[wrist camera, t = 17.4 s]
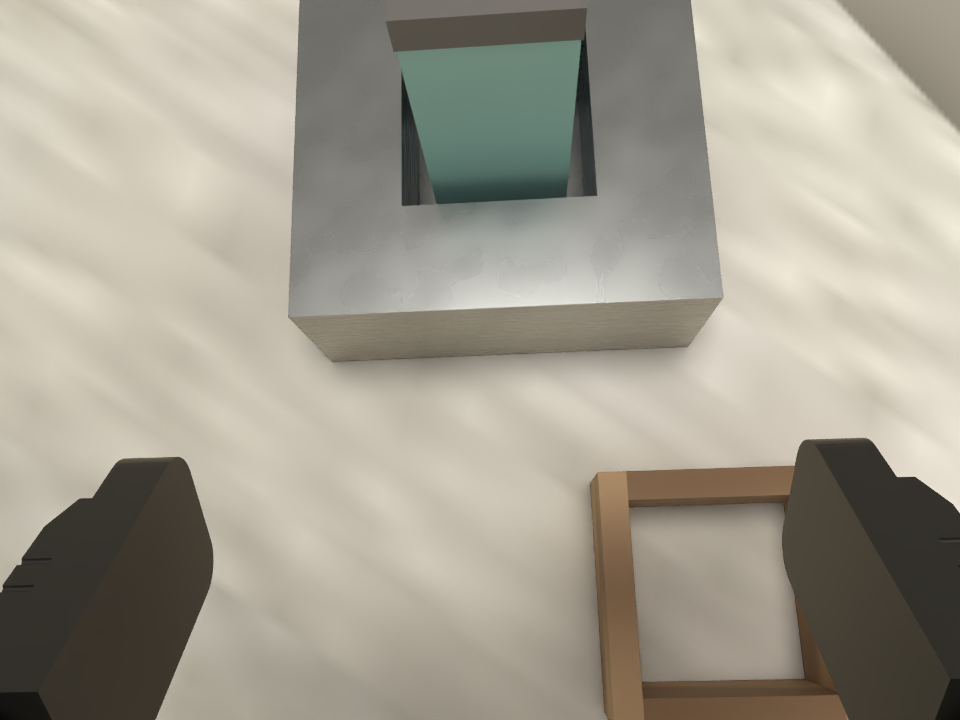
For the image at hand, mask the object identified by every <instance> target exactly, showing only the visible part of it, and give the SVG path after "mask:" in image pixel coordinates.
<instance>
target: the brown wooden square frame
mask: <svg viewBox="0 0 960 720" xmlns="http://www.w3.org/2000/svg"><path fill="white" fill-rule="evenodd" d="M794 468H795V466H773V467H744V468H714V469H685V470H655V471H625V472H598V473H597V474H596V476H595V477H594V479H593V480H592V481H591V483H590V486H591V502H592V518H593V535H594V551H595V567H596V583H597V600H598V616H599V632H600V648H601V665H602V681H603V697H604V712H605V714H606V716H607V718H608V720H849V719H848V717H847V715H846V712H845V710H844V708H843V705H842V703H841V700H840V698H839V696H838V693H837V691H836V689H835V686H834V684H833V682H832V679H831V677H830V675H829V672H828V670H827V668H826V665H825V663H824V661H823V658H822V656H821V654H820V651H819V649H818V646H817V644H816V642H815V639H814V637H813V635H812V632H811V630H810V628H809V625H808V623H807V621H806V618H805V616H804V614H803V611H802V609H801V607H800V604H799V602H798V600H797V597H796V595H795V599H796V607H797V615H798V623H799V631H800V640H801V648H802V656H803V664H804V672H805V679H781V680H730V681H679V682H642V680H641V667H640V653H639V639H638V625H637V612H636V598H635V584H634V571H633V557H632V543H631V530H630V516H629V507H648V506H680V505H711V504H743V503H775V502H784V508H785V516H786V510H787V505H788V500H789V495H790V489H791V484H792V479H793V474H794Z"/></svg>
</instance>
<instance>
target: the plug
mask: <svg viewBox="0 0 960 720" xmlns="http://www.w3.org/2000/svg"><path fill="white" fill-rule="evenodd" d="M586 16H587V0H386V25H387V29H388V32H389V36H390V40H391V44H392V47H393V51H394V52H397V55H398V59H399V63H400V67H401V71H402V74H403V78H404V82H405V86H406V90H407V93H408V97H409V101H410V105H411V109H412V112H413V116H414V120H415V124H416V128H417V131H418V135H419V139H420V143H421V147H422V150H423V154H424V158H425V162H426V166H427V169H428V173H429V177H430V181H431V185H432V188H433V192H434V196H435V200H436V204H452V203H471V202H490V201H509V200H528V199H547V198H566V197H567V186H568V176H569V165H570V154H571V144H572V133H573V123H574V112H575V102H576V91H577V81H578V70H579V60H580V49H581V40H584V36H585V26H586Z"/></svg>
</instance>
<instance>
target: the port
mask: <svg viewBox="0 0 960 720" xmlns="http://www.w3.org/2000/svg"><path fill="white" fill-rule="evenodd" d="M722 299H723V290H722V281H721V271H720V262H719V253H718V244H717V235H716V226H715V217H714V208H713V199H712V190H711V180H710V171H709V162H708V153H707V144H706V135H705V126H704V117H703V108H702V99H701V89H700V80H699V71H698V62H697V53H696V44H695V35H694V26H693V17H692V8H691V0H587V16H586V26H585V36H584V40H581V49H580V60H579V70H578V81H577V91H576V102H575V112H574V123H573V133H572V144H571V154H570V165H569V176H568V186H567V197H566V198H547V199H528V200H509V201H490V202H471V203H452V204H436V200H435V196H434V192H433V188H432V185H431V181H430V177H429V173H428V169H427V166H426V162H425V158H424V154H423V150H422V147H421V143H420V139H419V135H418V131H417V128H416V124H415V120H414V116H413V112H412V109H411V105H410V101H409V97H408V93H407V90H406V86H405V82H404V78H403V74H402V71H401V67H400V63H399V59H398V55H397V52H394V51H393V47H392V44H391V40H390V36H389V32H388V29H387V25H386V0H300V5H299V33H298V61H297V89H296V117H295V145H294V173H293V201H292V229H291V257H290V284H289V312H288V317H289V318H290V319H291V320H292V321H293V322H294V323H295V324H296V325H297V326H298V328H299V329H300V330H301V331H302V332H303V333H304V334H305V335H306V336H307V337H308V338H309V339H310V340H311V341H312V342H313V343H314V344H315V345H316V346H317V347H318V348H319V349H320V350H321V351H322V352H323V353H324V354H325V355H326V356H327V357H328V358H329V359H330V360H331V361H355V360H379V359H403V358H426V357H450V356H474V355H498V354H521V353H545V352H569V351H593V350H616V349H640V348H664V347H688V346H689V345H690V343H691V342H692V340H693V339H694V338H695V336H696V335H697V333H698V332H699V331H700V329H701V328H702V327H703V325H704V324H705V322H706V321H707V320H708V318H709V317H710V315H711V314H712V313H713V311H714V310H715V308H716V307H717V306H718V304H719V303H720V301H721V300H722Z"/></svg>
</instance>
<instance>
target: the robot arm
mask: <svg viewBox="0 0 960 720" xmlns="http://www.w3.org/2000/svg"><path fill="white" fill-rule="evenodd" d="M782 548H783V558H784V564H785V568H786V572H787V575H788V578H789V581H790V583H791V585H792V588H793V590H794V592H795V595H796V597H797V600H798V602H799V604H800V607H801V609H802V611H803V614H804V616H805V618H806V621H807V623H808V625H809V628H810V630H811V632H812V635H813V637H814V639H815V642H816V644H817V646H818V649H819V651H820V654H821V656H822V658H823V661H824V663H825V665H826V668H827V670H828V672H829V675H830V677H831V679H832V682H833V684H834V686H835V689H836V691H837V693H838V696H839V698H840V700H841V703H842V705H843V708H844V710H845V712H846V715H847V717H848V719H849V720H960V513H959V512H958V510H957V509H956V508H955V506H954V505H953V504H952V503H950V502H949V501H948V500H946V499H945V498H944V497H942V496H941V495H939V494H938V493H937V492H935V491H934V490H932V489H931V488H930V487H928V486H927V485H926V484H924V483H923V482H921V481H920V480H919V479H917V478H916V477H896V475H895V474H894V472H893V471H892V469H891V468H890V466H889V465H888V463H887V462H886V461H885V459H884V458H883V456H882V455H881V453H880V452H879V450H878V449H877V447H876V446H875V445H874V443H873V442H872V441H870V440H869V439H867V438H845V439H812V440H805V441H803V442H802V443H801V445H800V447H799V450H798V453H797V458H796V463H795V468H794V474H793V479H792V484H791V489H790V495H789V500H788V505H787V510H786V516H785V521H784V526H783V534H782ZM212 573H213V548H212V543H211V539H210V536H209V532H208V529H207V526H206V522H205V519H204V516H203V512H202V509H201V506H200V502H199V499H198V496H197V492H196V489H195V486H194V482H193V479H192V476H191V472H190V469H189V467H188V465H187V463H186V462H185V460H184V459H182V458H180V457H163V458H130V459H122V460H119V461H118V462H117V463H116V464H115V465H114V467H113V468H112V469H111V471H110V472H109V474H108V475H107V477H106V478H105V480H104V481H103V483H102V484H101V486H100V487H99V489H98V490H97V492H96V493H95V495H94V496H93V498H84V499H79V500H77V501H76V502H75V503H74V504H72V505H71V506H70V507H69V508H67V509H66V510H65V511H63V512H62V513H61V514H60V515H58V516H57V517H56V518H55V519H53V520H52V521H51V522H50V523H48V524H47V525H46V526H45V527H44V528H43V529H42V531H41V532H40V534H39V535H38V536H37V538H36V539H35V541H34V542H33V543H32V545H31V546H30V548H29V549H28V550H27V552H26V553H25V555H24V556H23V557H22V564H21V565H17V566H16V567H15V569H14V570H13V572H12V573H11V574H10V576H9V577H8V579H7V580H6V581H5V583H4V584H3V590H2V593H0V720H155V719H156V717H157V715H158V712H159V710H160V707H161V705H162V702H163V700H164V698H165V695H166V693H167V690H168V688H169V685H170V683H171V681H172V678H173V676H174V673H175V671H176V668H177V666H178V663H179V661H180V659H181V656H182V654H183V651H184V649H185V646H186V644H187V642H188V639H189V637H190V634H191V632H192V629H193V627H194V625H195V622H196V620H197V617H198V615H199V612H200V610H201V608H202V605H203V603H204V600H205V598H206V595H207V593H208V590H209V587H210V584H211V579H212Z"/></svg>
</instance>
